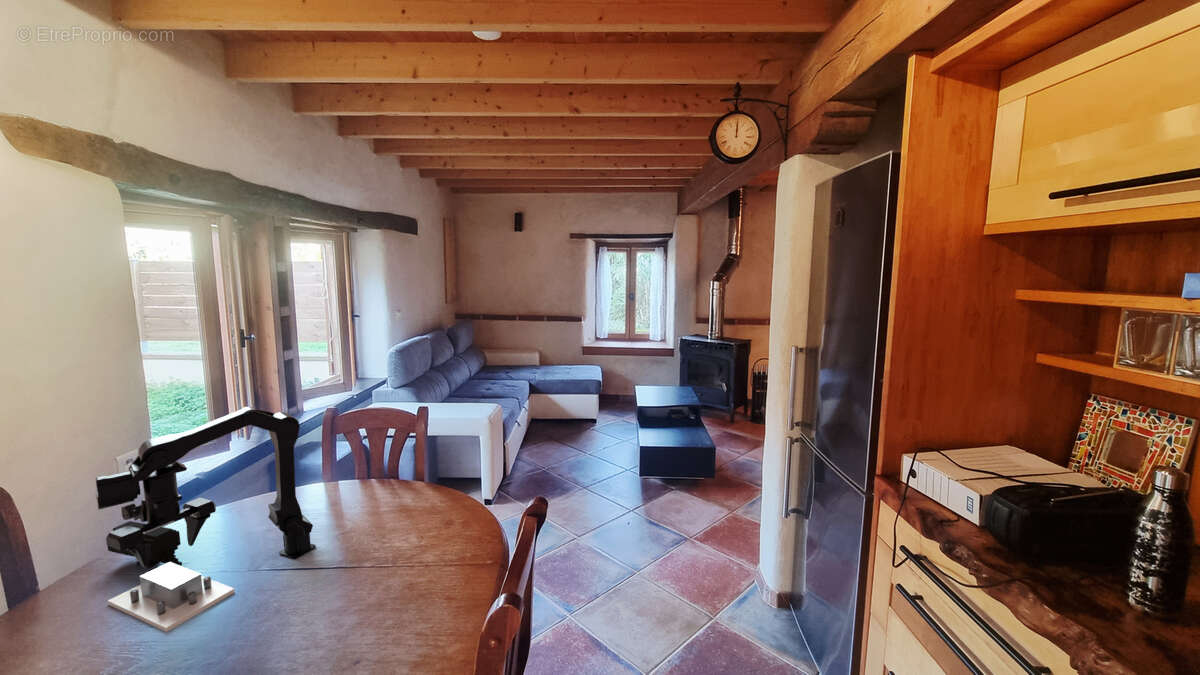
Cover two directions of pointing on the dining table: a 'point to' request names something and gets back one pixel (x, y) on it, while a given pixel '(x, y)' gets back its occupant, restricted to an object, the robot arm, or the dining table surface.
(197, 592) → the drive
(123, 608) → the white peg board
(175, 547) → the security camera
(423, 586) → the dining table surface
